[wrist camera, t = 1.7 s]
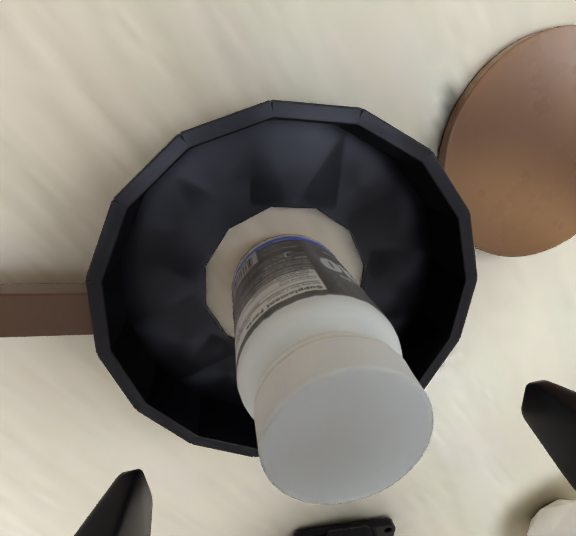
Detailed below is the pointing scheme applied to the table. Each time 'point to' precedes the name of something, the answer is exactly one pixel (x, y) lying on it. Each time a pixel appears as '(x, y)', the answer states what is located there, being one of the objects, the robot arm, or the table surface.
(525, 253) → the disc
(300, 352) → the pill bottle
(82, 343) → the table surface
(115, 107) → the table surface
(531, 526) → the ball
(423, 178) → the pan
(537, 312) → the table surface
